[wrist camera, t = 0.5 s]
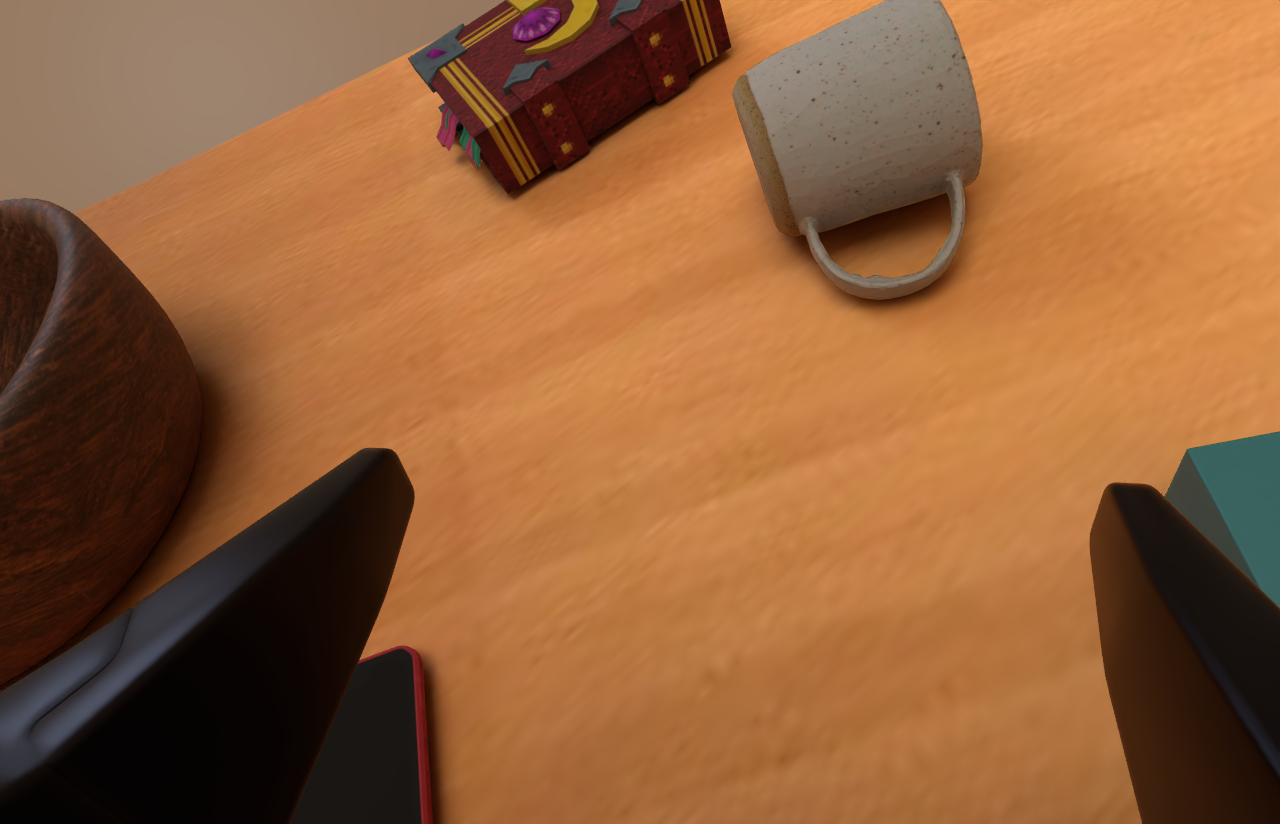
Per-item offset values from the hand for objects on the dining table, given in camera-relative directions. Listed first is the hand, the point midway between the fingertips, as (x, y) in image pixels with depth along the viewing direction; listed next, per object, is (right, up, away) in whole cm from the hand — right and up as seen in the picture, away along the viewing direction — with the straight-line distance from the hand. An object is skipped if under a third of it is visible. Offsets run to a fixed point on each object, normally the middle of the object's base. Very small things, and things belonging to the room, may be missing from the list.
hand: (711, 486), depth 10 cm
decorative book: (-5, +19, +36) cm, 42 cm away
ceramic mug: (+9, +9, +24) cm, 27 cm away
